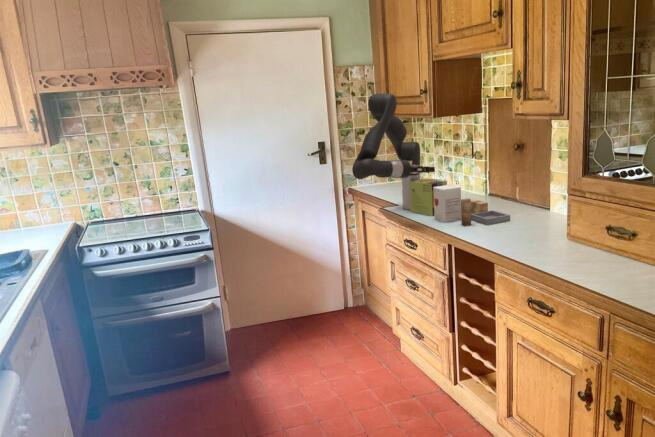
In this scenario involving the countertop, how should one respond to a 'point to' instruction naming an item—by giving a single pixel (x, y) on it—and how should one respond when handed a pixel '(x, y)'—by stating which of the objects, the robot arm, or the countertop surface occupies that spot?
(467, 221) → the dowel
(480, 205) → the stop block
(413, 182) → the protein box
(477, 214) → the tray
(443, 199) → the supplement box
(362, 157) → the robot arm
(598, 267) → the countertop surface
